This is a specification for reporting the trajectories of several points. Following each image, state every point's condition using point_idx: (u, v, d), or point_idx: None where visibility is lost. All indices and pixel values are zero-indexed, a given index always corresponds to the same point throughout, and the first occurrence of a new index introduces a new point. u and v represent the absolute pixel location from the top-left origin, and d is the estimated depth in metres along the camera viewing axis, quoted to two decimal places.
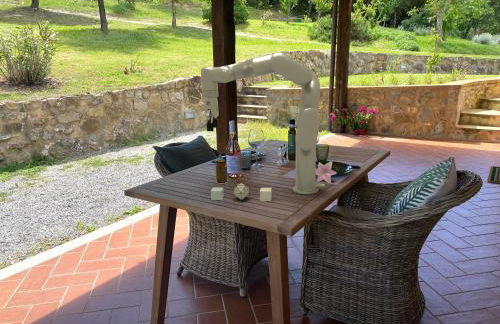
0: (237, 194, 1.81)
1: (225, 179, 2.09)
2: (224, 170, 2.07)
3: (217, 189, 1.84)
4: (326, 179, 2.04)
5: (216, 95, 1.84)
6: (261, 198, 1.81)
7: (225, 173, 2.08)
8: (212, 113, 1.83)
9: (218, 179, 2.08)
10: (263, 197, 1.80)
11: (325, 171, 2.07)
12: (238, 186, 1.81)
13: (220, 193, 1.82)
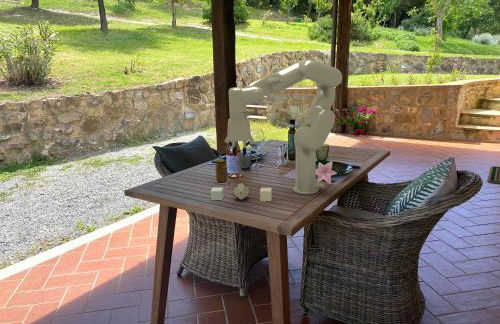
0: (237, 194, 1.81)
1: (225, 179, 2.09)
2: (224, 170, 2.07)
3: (217, 189, 1.84)
4: (327, 179, 2.04)
5: None
6: (261, 198, 1.81)
7: (225, 173, 2.08)
8: None
9: (218, 179, 2.08)
10: (263, 197, 1.80)
11: (325, 171, 2.07)
12: (238, 186, 1.81)
13: (220, 193, 1.82)
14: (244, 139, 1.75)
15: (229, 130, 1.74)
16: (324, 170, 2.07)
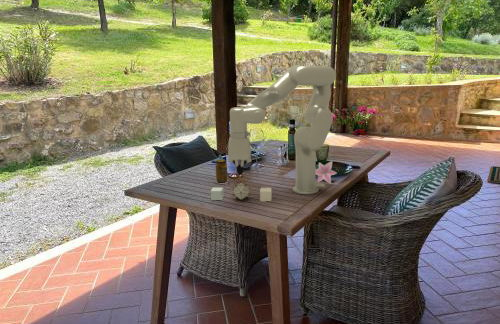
0: (237, 194, 1.81)
1: (225, 179, 2.09)
2: (224, 170, 2.07)
3: (217, 189, 1.84)
4: (327, 179, 2.04)
5: None
6: (261, 198, 1.81)
7: (225, 173, 2.08)
8: None
9: (218, 179, 2.08)
10: (263, 197, 1.80)
11: (325, 171, 2.07)
12: (238, 186, 1.81)
13: (220, 193, 1.82)
14: (244, 158, 1.77)
15: (230, 149, 1.77)
16: (324, 170, 2.07)
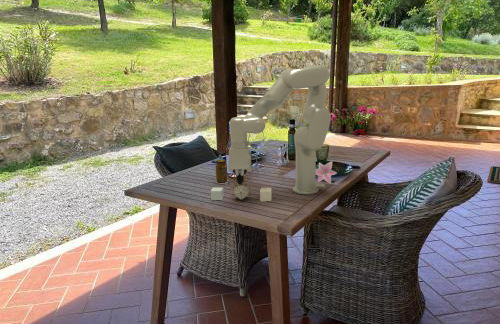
0: (237, 194, 1.81)
1: (225, 179, 2.09)
2: (224, 170, 2.07)
3: (217, 189, 1.84)
4: (327, 179, 2.04)
5: None
6: (261, 198, 1.81)
7: (225, 173, 2.08)
8: None
9: (218, 179, 2.08)
10: (263, 197, 1.80)
11: (325, 171, 2.07)
12: (238, 186, 1.81)
13: (220, 193, 1.82)
14: (245, 167, 1.78)
15: (230, 159, 1.78)
16: (324, 170, 2.07)
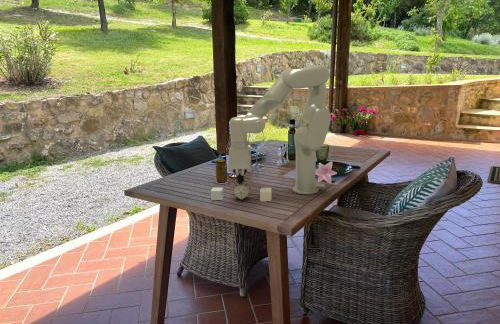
0: (237, 194, 1.81)
1: (225, 179, 2.09)
2: (224, 170, 2.07)
3: (217, 189, 1.84)
4: (327, 180, 2.04)
5: None
6: (261, 198, 1.81)
7: (225, 173, 2.08)
8: None
9: (218, 179, 2.08)
10: (263, 197, 1.80)
11: (325, 171, 2.07)
12: (238, 186, 1.81)
13: (220, 193, 1.82)
14: (245, 167, 1.78)
15: (230, 158, 1.78)
16: (324, 170, 2.07)
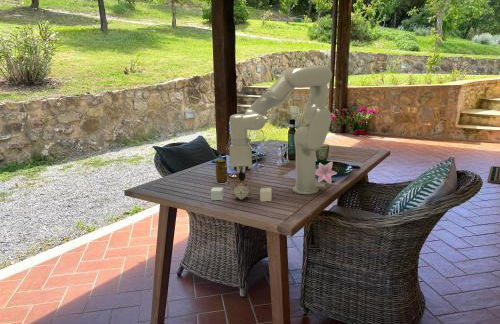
0: (237, 194, 1.81)
1: (225, 179, 2.09)
2: (224, 170, 2.07)
3: (217, 189, 1.84)
4: (327, 180, 2.03)
5: None
6: (261, 198, 1.81)
7: (225, 173, 2.08)
8: None
9: (218, 179, 2.08)
10: (263, 197, 1.80)
11: (325, 171, 2.07)
12: (238, 186, 1.81)
13: (220, 193, 1.82)
14: (246, 164, 1.78)
15: (231, 156, 1.78)
16: (324, 170, 2.07)
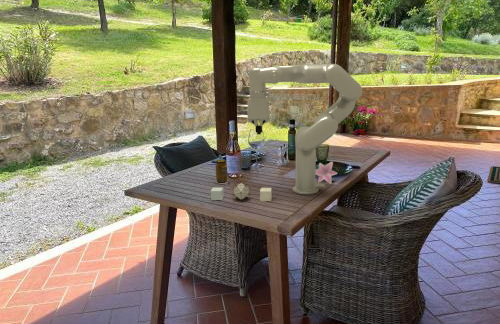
0: (237, 194, 1.81)
1: (225, 179, 2.09)
2: (224, 170, 2.07)
3: (217, 189, 1.84)
4: (327, 180, 2.03)
5: None
6: (261, 198, 1.81)
7: (225, 173, 2.08)
8: None
9: (218, 179, 2.08)
10: (263, 197, 1.80)
11: (326, 171, 2.07)
12: (238, 186, 1.81)
13: (220, 193, 1.82)
14: (263, 117, 1.82)
15: (249, 109, 1.82)
16: (324, 170, 2.07)
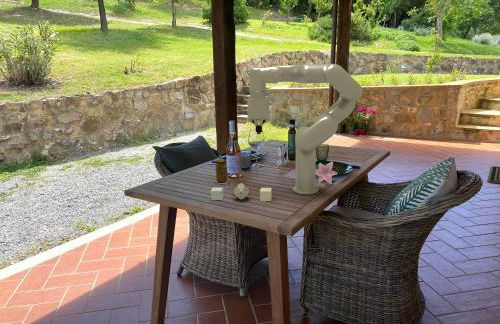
0: (237, 194, 1.81)
1: (225, 179, 2.09)
2: (224, 170, 2.07)
3: (217, 189, 1.84)
4: (327, 180, 2.03)
5: None
6: (261, 198, 1.81)
7: (225, 173, 2.08)
8: None
9: (218, 179, 2.08)
10: (263, 197, 1.80)
11: (326, 171, 2.07)
12: (238, 186, 1.81)
13: (220, 193, 1.82)
14: (263, 117, 1.82)
15: (249, 108, 1.82)
16: (325, 170, 2.07)
